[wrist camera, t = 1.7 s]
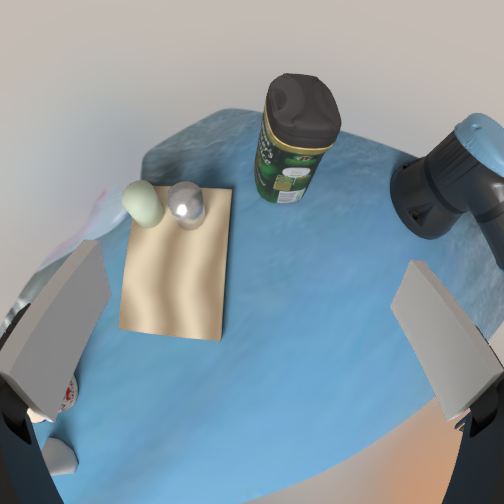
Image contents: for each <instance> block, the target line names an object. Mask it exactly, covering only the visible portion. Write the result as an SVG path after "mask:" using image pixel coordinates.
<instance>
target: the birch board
mask: <svg viewBox="0 0 504 504" xmlns="http://www.w3.org/2000/svg"><path fill="white" fill-rule="evenodd" d="M171 187H172V186H153V188H154V190H155V192H156V194H157V196H158V198H159V200H160V201H161V203H162V205H163V207H164V217H163V219H162V221H161V222H160V223H159V224H158V225H157V226H155V227H153V228H144V227H141V226H140V225H139V224H138V223H137V222H136V221H135V219H134V218H133V221H132V226H131V231H130V237H129V243H128V249H127V256H126V263H125V270H124V278H123V286H122V296H121V306H120V319H119V329H123V330H130V331H136V332H143V333H150V334H158V335H166V336H175V337H184V338H194V339H205V340H218V341H221V334H222V317H223V301H224V285H225V271H226V257H227V244H228V231H229V219H230V207H231V196H232V190H230V189H215V188H200V189H201V191H202V196H203V201H204V207H205V212H206V218H205V221H204V223H203V224H202V226H200V227H199V228H198V229H196V230H192V231H186V230H183V229H181V228H180V227H179V226H178V225H177V224H176V222H175V220H174V217H173V215H172V213H171V211H170V209H169V207H168V205H167V201H166V198H167V194H168V191H169V190H170V188H171Z"/></svg>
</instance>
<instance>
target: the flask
mask: <svg viewBox="0 0 504 504" xmlns="http://www.w3.org/2000/svg"><path fill="white" fill-rule="evenodd" d="M41 453H42V456H43V458H44V461H45V463H46V466H47V468H48V471H49V473H50V475H51V476H53V475H61V474H70V473H75V471H76V469H77V466H78V462H77V459H76V456H75V454H74V451H73V450H72V449H71V448H70V447H68V446H67V445H66V444H65V443H64V442H62V441H61V440H59V439H55V438H51V437H48V439H47V441H46V443H45V445H44V447H43V449H42V451H41Z"/></svg>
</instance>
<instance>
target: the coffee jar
mask: <svg viewBox="0 0 504 504" xmlns="http://www.w3.org/2000/svg"><path fill="white" fill-rule="evenodd" d="M340 127H341V118H340V114H339V111H338V108H337V105H336V102H335V99H334V97H333V96H332V93H331V91H330V90H329V89H328V87H327V86H326V85H325V84H324V83H323V82H321V81H320V80H319V79H318V78H317V77H314V76H309V75H302V74H288V73H286V74H283V75H281V76H279V77H277V78H276V79H274V80H273V81H272V82H271V84H270V86H269V89H268V93H267V96H266V101H265V107H264V113H263V119H262V124H261V130H260V135H259V141H258V147H257V152H256V158H255V169H254V172H255V181H256V186H257V190H258V192H259V194H260V196H261V197H262V198H263V199H265V200H267V201H269V202H273V203H292V202H296V201H298V200H300V199H301V198H302V197H303V195H304V193H305V192H306V190H307V188H308V186H309V183H310V181H311V179H312V177H313V175H314V173H315V170H316V169H317V167H318V164H319V162H320V160H321V158H322V157H323V155H324V153H325V152H326V151H327V150H329V149H330V148H331V147H332V145H333V144H334V142H335V141H336V138H337V136H338V133H339V131H340Z"/></svg>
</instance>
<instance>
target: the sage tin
mask: <svg viewBox="0 0 504 504" xmlns="http://www.w3.org/2000/svg"><path fill="white" fill-rule="evenodd" d="M122 204H123V206H124V207H125V209H126V210H127V211H128V212H129V213H130V215H131V216H132V217H133V218H134V219H135V221H136V222H137V223H138V224H139V225H140V226H141V227H144V228H153V227H155V226H157V225H158V224H159V223H160V222H161V221H162V219H163V217H164V207H163V205H162V203H161V201H160V200H159V198H158V196H157V194H156V192H155V190H154V188H153V186H152V185H151V184H150V183H149V182H147V181H144V180H139V181H135V182H133V183H131V184H130V185H129V186H128V187H126V189H125V190H124V193H123V195H122Z"/></svg>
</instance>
